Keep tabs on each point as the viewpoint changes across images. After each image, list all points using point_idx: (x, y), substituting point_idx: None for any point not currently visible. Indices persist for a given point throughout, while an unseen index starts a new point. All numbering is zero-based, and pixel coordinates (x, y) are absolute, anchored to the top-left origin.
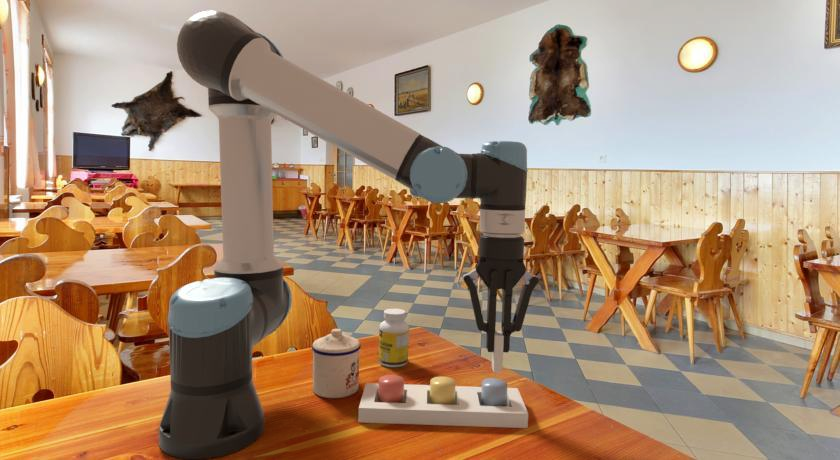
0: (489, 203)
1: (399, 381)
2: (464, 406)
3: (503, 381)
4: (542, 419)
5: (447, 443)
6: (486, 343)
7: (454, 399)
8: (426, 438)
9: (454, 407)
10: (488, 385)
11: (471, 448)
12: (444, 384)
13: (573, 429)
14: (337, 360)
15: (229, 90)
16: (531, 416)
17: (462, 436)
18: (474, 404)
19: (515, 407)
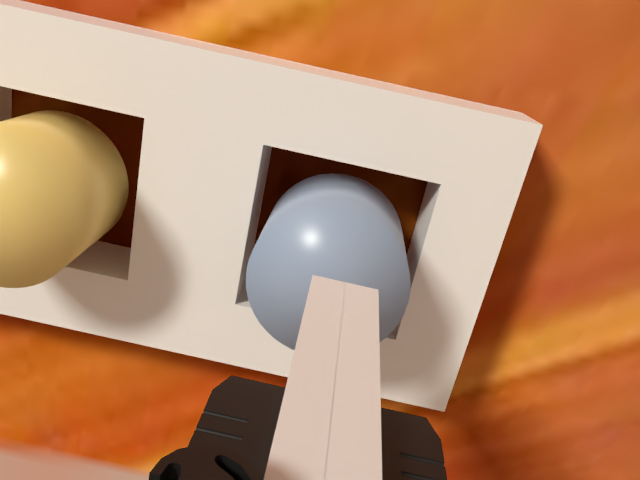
0: None
1: None
2: (153, 299)
3: (397, 268)
4: (547, 314)
5: (82, 412)
6: (202, 418)
7: (112, 222)
8: (6, 370)
9: (101, 301)
10: (276, 309)
11: (164, 454)
12: (3, 258)
13: (632, 410)
14: None
15: None
16: (510, 280)
17: (146, 380)
18: (208, 288)
19: (410, 348)
